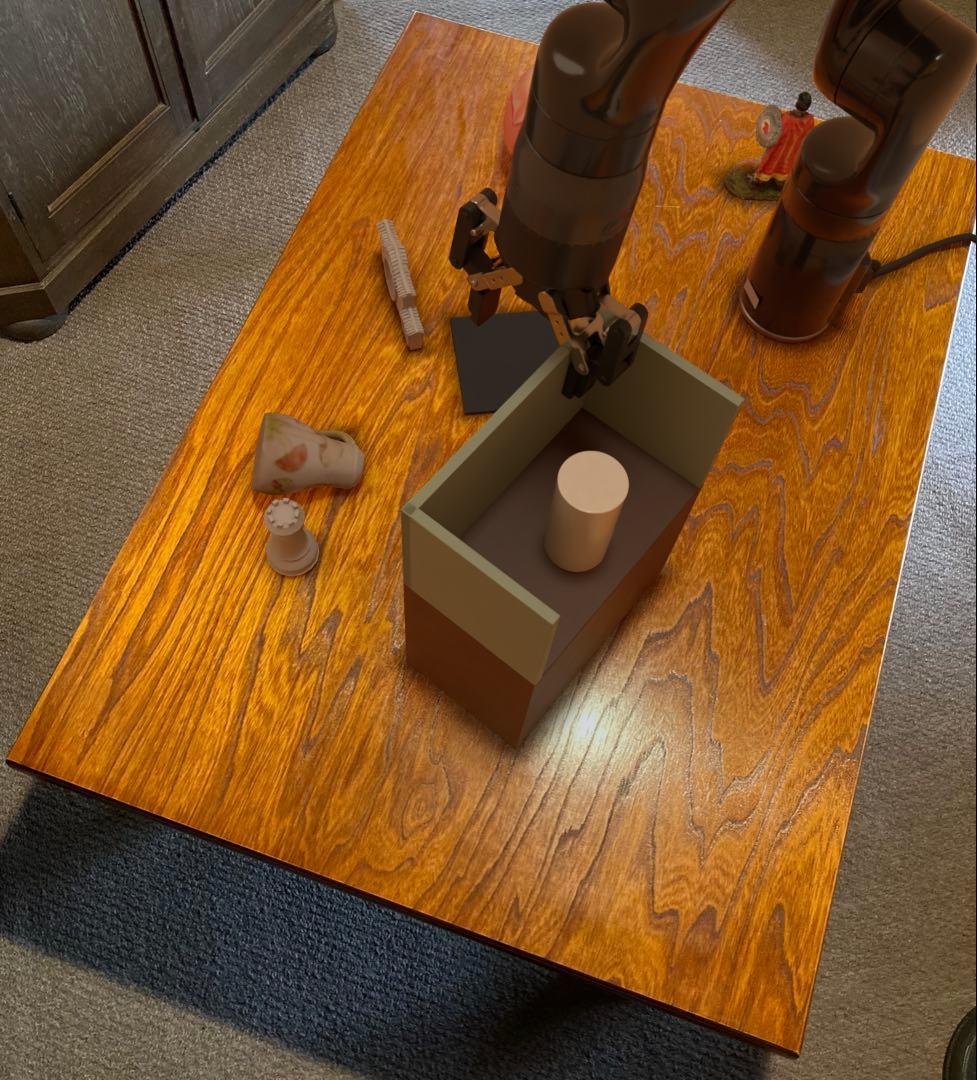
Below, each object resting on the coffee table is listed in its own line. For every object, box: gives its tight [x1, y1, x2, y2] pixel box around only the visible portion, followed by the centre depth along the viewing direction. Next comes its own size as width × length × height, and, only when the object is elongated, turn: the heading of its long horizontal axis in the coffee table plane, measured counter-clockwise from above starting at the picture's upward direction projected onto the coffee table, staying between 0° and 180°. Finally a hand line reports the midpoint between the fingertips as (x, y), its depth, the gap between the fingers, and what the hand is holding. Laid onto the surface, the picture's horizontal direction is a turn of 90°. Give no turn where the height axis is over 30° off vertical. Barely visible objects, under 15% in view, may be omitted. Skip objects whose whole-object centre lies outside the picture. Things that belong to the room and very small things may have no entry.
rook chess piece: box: [263, 497, 320, 577], centre depth 89 cm, size 4×4×8 cm
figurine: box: [723, 91, 816, 202], centre depth 109 cm, size 8×5×12 cm, turn 81°
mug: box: [251, 412, 366, 496], centre depth 94 cm, size 8×10×10 cm
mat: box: [449, 310, 560, 416], centre depth 103 cm, size 11×11×1 cm
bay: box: [400, 325, 746, 750], centre depth 79 cm, size 12×21×27 cm, turn 141°
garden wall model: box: [375, 218, 425, 351], centre depth 102 cm, size 12×2×6 cm, turn 16°
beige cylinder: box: [543, 451, 629, 572], centre depth 73 cm, size 5×5×9 cm
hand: (527, 353), depth 76 cm, fingers open, 8 cm apart
